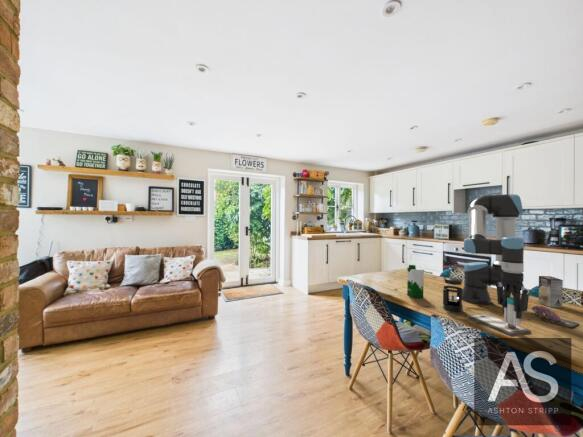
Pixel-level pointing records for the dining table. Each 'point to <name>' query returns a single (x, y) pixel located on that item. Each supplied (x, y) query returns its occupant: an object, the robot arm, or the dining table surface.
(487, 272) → the robot arm
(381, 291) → the dining table surface
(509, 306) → the marker
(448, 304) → the black lantern
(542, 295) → the coffee box
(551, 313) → the purple oval lump
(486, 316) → the tablet
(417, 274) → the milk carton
